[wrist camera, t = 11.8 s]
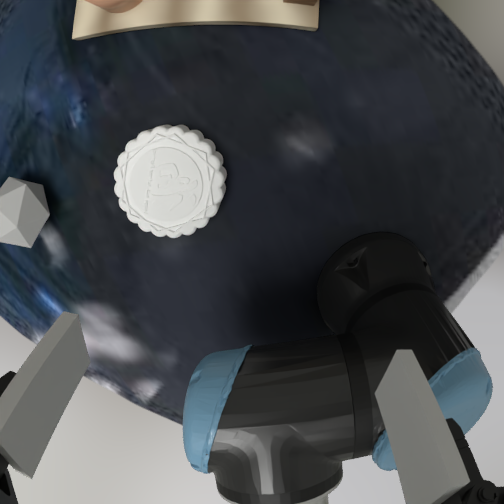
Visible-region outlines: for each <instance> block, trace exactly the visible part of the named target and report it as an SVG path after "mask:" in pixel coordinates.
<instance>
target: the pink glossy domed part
mask: <svg viewBox="0 0 504 504" xmlns="http://www.w3.org/2000/svg"><path fill="white" fill-rule="evenodd" d="M85 1H87V2H89V3H91V4H93V5H95V6H98V7H100V8H102V9H104V10H106V11H108V12H110V13H123V12H126V11H129V10H131V9H133V8H134V7H136V6H137V5H139V4H140V3H141V2H142V1H143V0H85Z"/></svg>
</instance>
